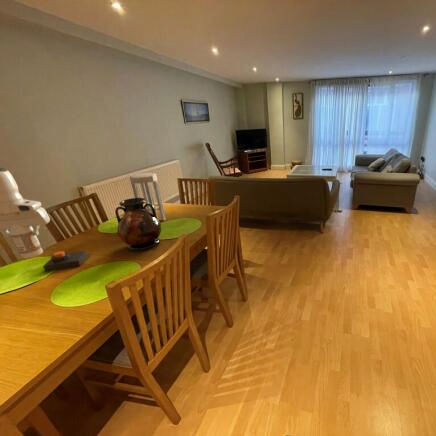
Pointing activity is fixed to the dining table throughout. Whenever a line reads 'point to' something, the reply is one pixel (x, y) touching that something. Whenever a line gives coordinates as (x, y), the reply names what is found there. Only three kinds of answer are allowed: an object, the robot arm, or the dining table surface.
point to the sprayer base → (66, 261)
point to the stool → (148, 191)
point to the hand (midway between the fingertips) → (24, 236)
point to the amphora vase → (138, 225)
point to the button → (59, 254)
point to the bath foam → (25, 241)
